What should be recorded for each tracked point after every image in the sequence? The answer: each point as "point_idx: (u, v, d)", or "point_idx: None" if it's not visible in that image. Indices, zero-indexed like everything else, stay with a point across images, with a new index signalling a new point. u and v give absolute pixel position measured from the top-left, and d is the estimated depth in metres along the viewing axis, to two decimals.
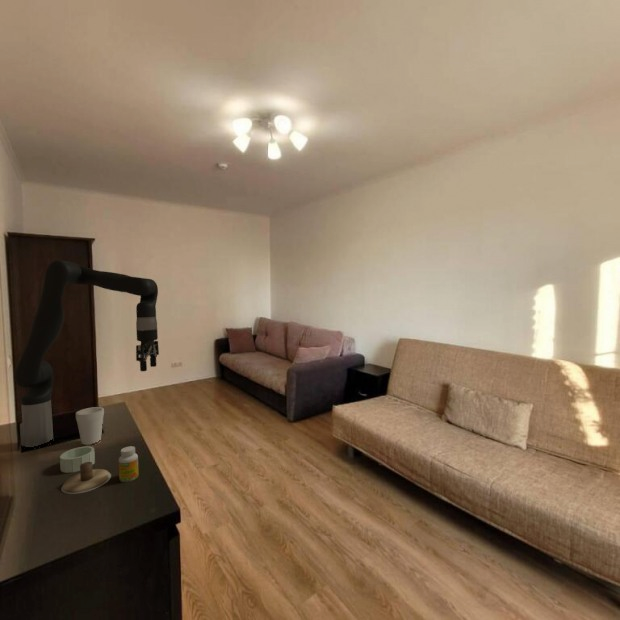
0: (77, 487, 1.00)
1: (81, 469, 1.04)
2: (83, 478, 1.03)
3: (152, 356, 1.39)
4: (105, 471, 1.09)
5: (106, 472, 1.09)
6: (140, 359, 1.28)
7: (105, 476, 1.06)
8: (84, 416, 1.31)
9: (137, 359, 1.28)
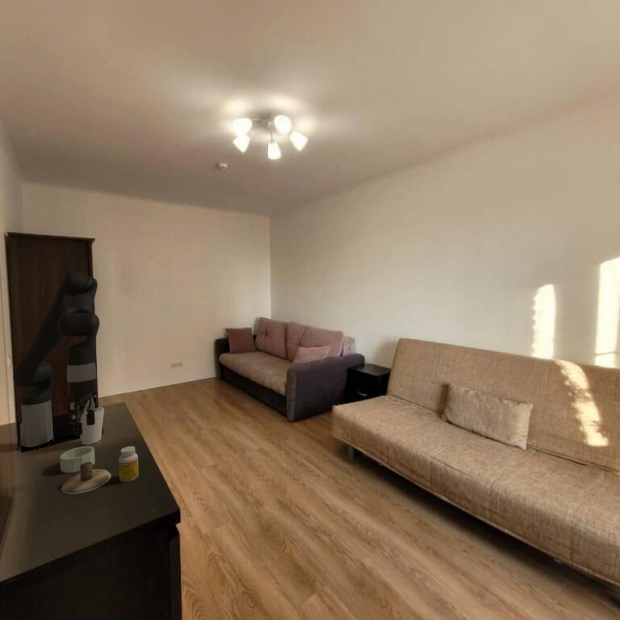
0: (77, 487, 1.00)
1: (81, 469, 1.04)
2: (83, 478, 1.03)
3: None
4: (105, 471, 1.09)
5: (106, 472, 1.09)
6: None
7: (105, 476, 1.06)
8: (84, 416, 1.31)
9: None
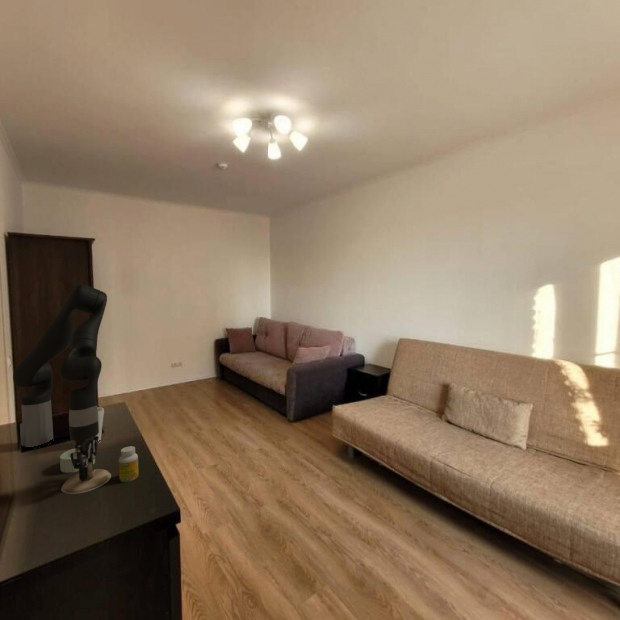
0: (77, 487, 1.00)
1: None
2: None
3: None
4: (105, 471, 1.09)
5: (106, 472, 1.09)
6: None
7: (105, 476, 1.06)
8: None
9: None
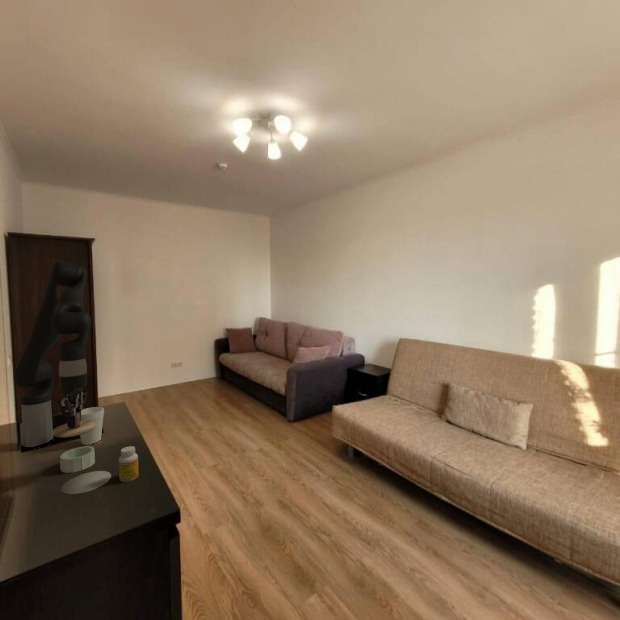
0: (64, 433, 1.07)
1: None
2: None
3: None
4: (92, 422, 1.16)
5: (93, 423, 1.15)
6: None
7: (92, 426, 1.13)
8: (84, 416, 1.31)
9: None
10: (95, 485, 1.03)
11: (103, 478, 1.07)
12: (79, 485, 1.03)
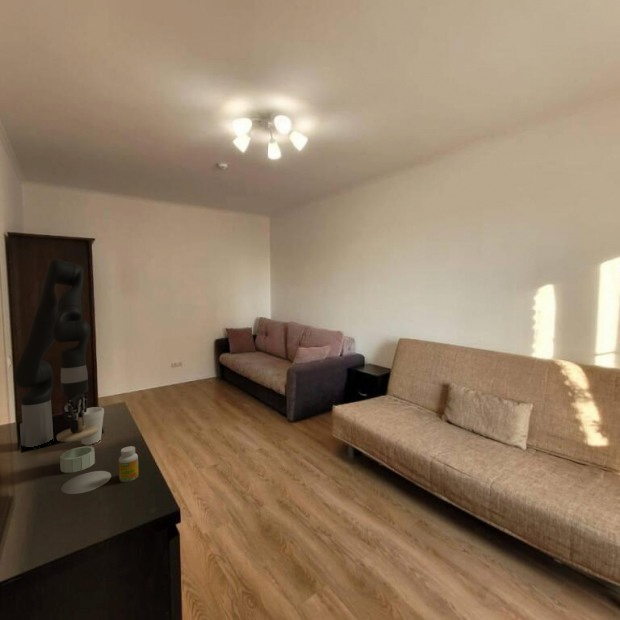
0: (68, 437, 1.11)
1: None
2: None
3: None
4: (94, 426, 1.20)
5: (95, 427, 1.19)
6: None
7: (94, 429, 1.17)
8: (84, 416, 1.31)
9: None
10: (95, 485, 1.03)
11: (103, 478, 1.07)
12: (79, 485, 1.03)
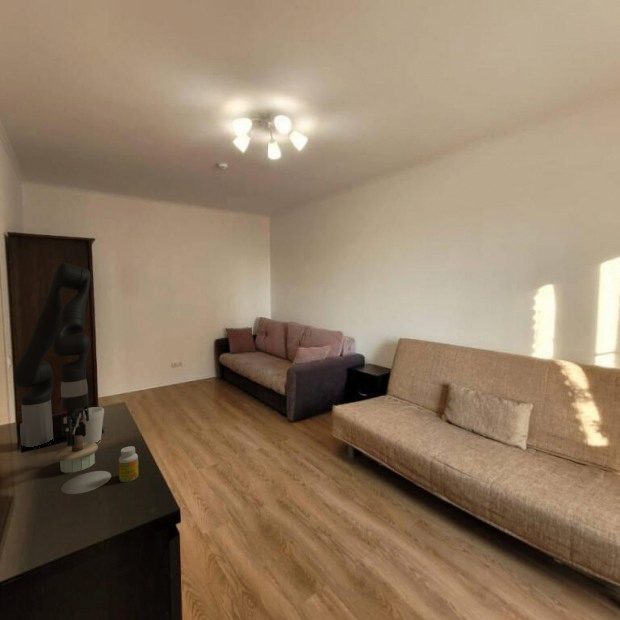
0: (68, 456, 1.11)
1: None
2: (74, 449, 1.14)
3: None
4: (94, 444, 1.20)
5: (95, 445, 1.19)
6: None
7: (94, 448, 1.17)
8: None
9: None
10: (95, 485, 1.03)
11: (103, 478, 1.07)
12: (79, 485, 1.03)
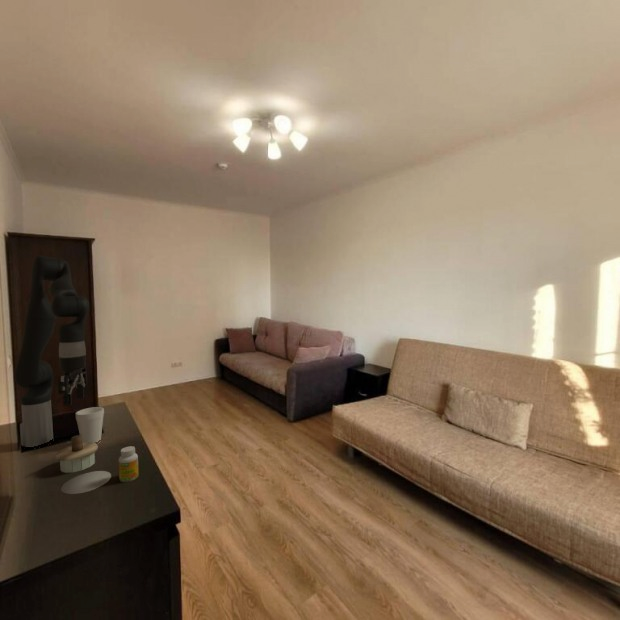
0: (68, 456, 1.11)
1: (72, 441, 1.14)
2: (74, 449, 1.14)
3: None
4: (94, 444, 1.20)
5: (95, 445, 1.19)
6: None
7: (94, 448, 1.17)
8: (84, 416, 1.31)
9: None
10: (95, 485, 1.03)
11: (103, 478, 1.07)
12: (79, 485, 1.03)
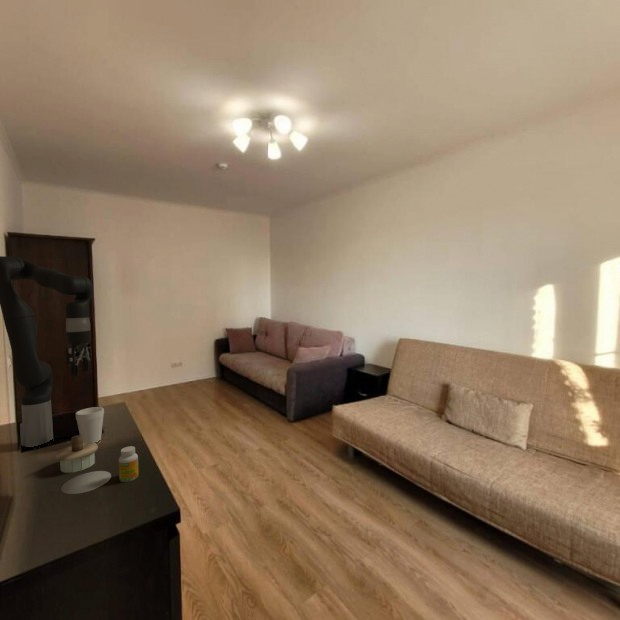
0: (68, 456, 1.11)
1: (72, 441, 1.14)
2: (74, 449, 1.14)
3: None
4: (94, 444, 1.20)
5: (95, 445, 1.19)
6: None
7: (94, 448, 1.17)
8: (84, 416, 1.31)
9: None
10: (95, 485, 1.03)
11: (103, 478, 1.07)
12: (79, 485, 1.03)
